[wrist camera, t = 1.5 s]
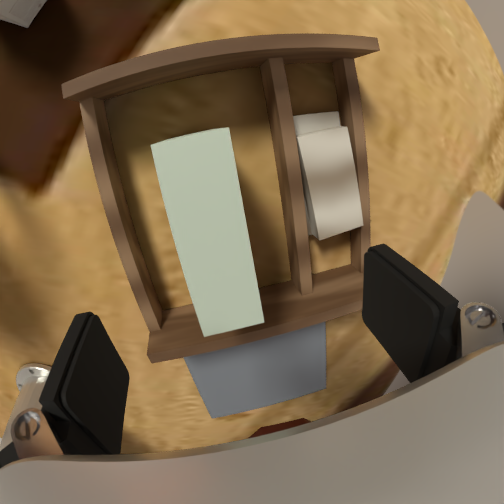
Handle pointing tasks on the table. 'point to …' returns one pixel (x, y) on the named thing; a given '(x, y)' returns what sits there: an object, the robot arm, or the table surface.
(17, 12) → the small box
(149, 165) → the table surface
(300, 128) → the offcut lower
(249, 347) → the mat
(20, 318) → the table surface
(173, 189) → the pale green block
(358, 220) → the offcut upper
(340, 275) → the rack
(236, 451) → the robot arm
